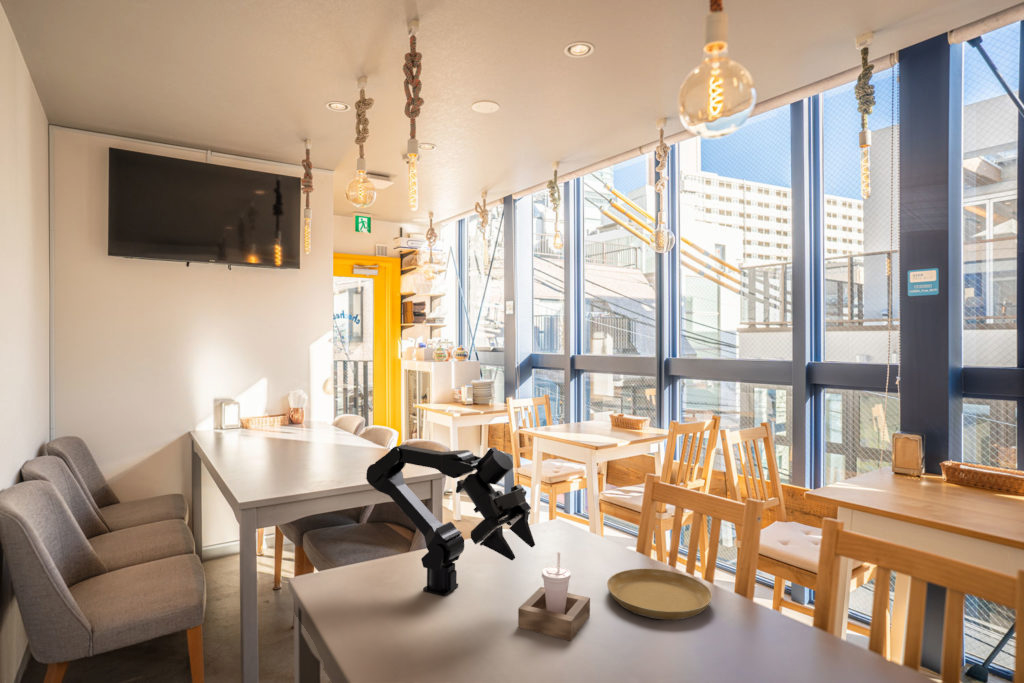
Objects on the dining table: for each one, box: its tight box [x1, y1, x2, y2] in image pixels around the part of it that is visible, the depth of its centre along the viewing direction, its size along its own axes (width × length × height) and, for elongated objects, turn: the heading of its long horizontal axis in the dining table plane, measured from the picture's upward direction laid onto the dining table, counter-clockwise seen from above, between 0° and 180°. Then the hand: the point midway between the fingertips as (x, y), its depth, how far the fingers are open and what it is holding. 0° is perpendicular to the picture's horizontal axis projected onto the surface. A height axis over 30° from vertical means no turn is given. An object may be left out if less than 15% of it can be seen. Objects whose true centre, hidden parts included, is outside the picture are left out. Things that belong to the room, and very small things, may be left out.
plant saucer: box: [606, 568, 713, 621], centre depth 134 cm, size 24×24×3 cm
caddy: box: [517, 586, 591, 642], centre depth 124 cm, size 12×12×4 cm
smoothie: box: [541, 551, 572, 614], centre depth 124 cm, size 6×6×14 cm
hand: (524, 552), depth 128 cm, fingers open, 9 cm apart
